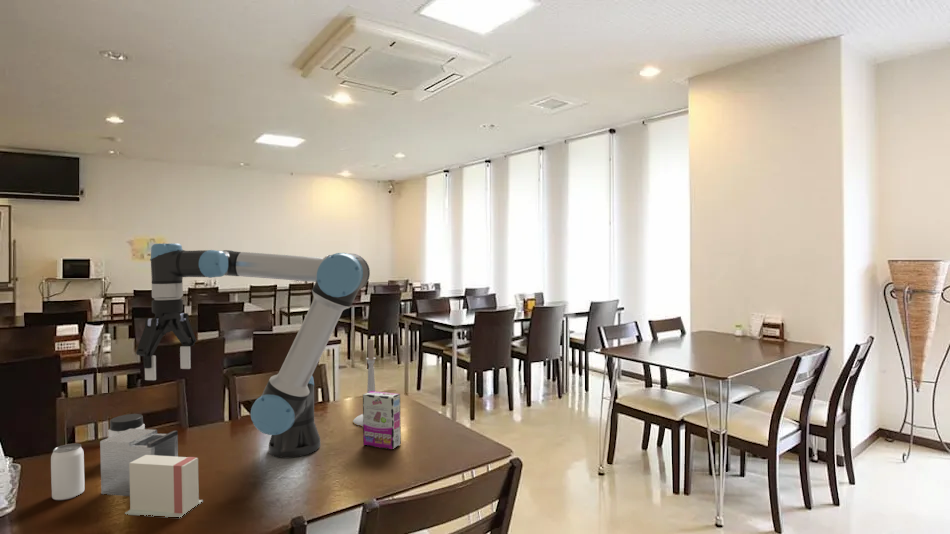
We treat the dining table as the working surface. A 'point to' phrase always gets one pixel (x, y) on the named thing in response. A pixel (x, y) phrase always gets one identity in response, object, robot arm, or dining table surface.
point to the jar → (125, 423)
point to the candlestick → (371, 380)
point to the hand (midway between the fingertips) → (168, 374)
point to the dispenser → (131, 456)
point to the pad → (157, 512)
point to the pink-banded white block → (164, 483)
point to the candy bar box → (381, 420)
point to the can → (67, 471)
